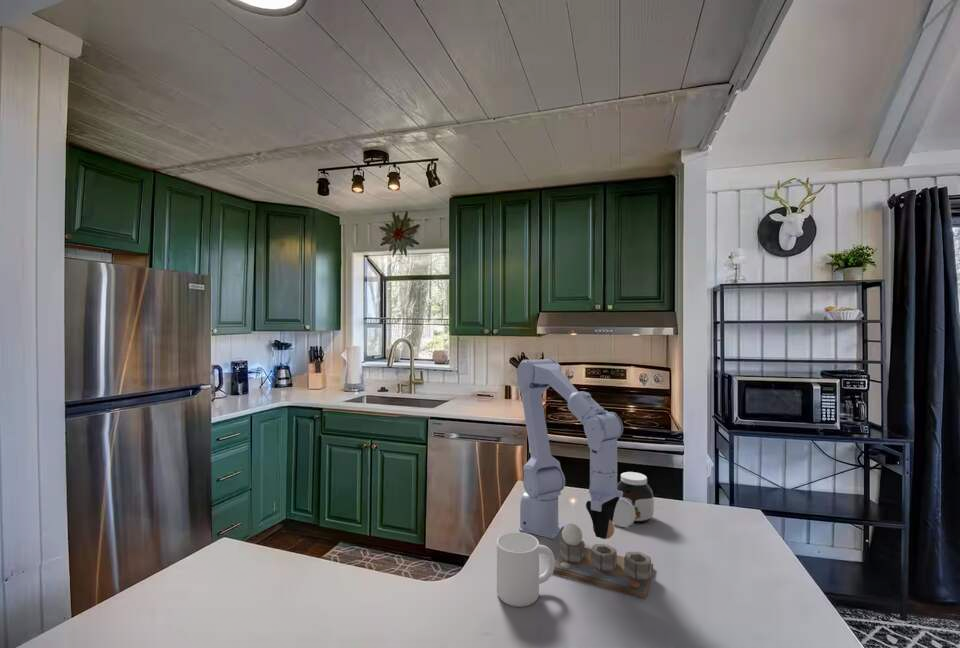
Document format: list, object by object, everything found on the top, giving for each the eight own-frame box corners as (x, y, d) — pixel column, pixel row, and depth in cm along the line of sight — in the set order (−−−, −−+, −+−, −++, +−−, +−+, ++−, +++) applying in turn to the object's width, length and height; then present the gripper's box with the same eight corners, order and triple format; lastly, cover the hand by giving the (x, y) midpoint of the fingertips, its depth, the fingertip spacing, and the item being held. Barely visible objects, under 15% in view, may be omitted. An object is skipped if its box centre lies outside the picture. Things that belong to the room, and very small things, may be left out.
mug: (546, 577, 90) (546, 527, 90) (564, 601, 82) (563, 547, 82) (491, 585, 87) (491, 534, 87) (504, 611, 79) (504, 555, 79)
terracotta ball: (590, 540, 92) (590, 519, 92) (595, 531, 96) (595, 511, 96) (612, 545, 90) (612, 523, 90) (616, 535, 94) (616, 515, 94)
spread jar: (651, 514, 120) (650, 472, 120) (658, 533, 109) (658, 487, 109) (606, 510, 123) (606, 469, 123) (609, 528, 112) (609, 483, 112)
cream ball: (559, 546, 95) (559, 526, 95) (565, 538, 99) (565, 518, 99) (579, 551, 93) (579, 531, 93) (584, 542, 97) (584, 522, 97)
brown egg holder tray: (551, 572, 91) (551, 553, 91) (567, 547, 102) (567, 530, 102) (646, 599, 82) (646, 578, 82) (653, 568, 93) (653, 550, 93)
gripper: (616, 483, 85) (616, 551, 85) (628, 462, 98) (628, 522, 98) (580, 477, 88) (580, 543, 88) (596, 458, 101) (596, 516, 101)
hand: (603, 531), depth 93 cm, fingers closed on terracotta ball, 4 cm apart
